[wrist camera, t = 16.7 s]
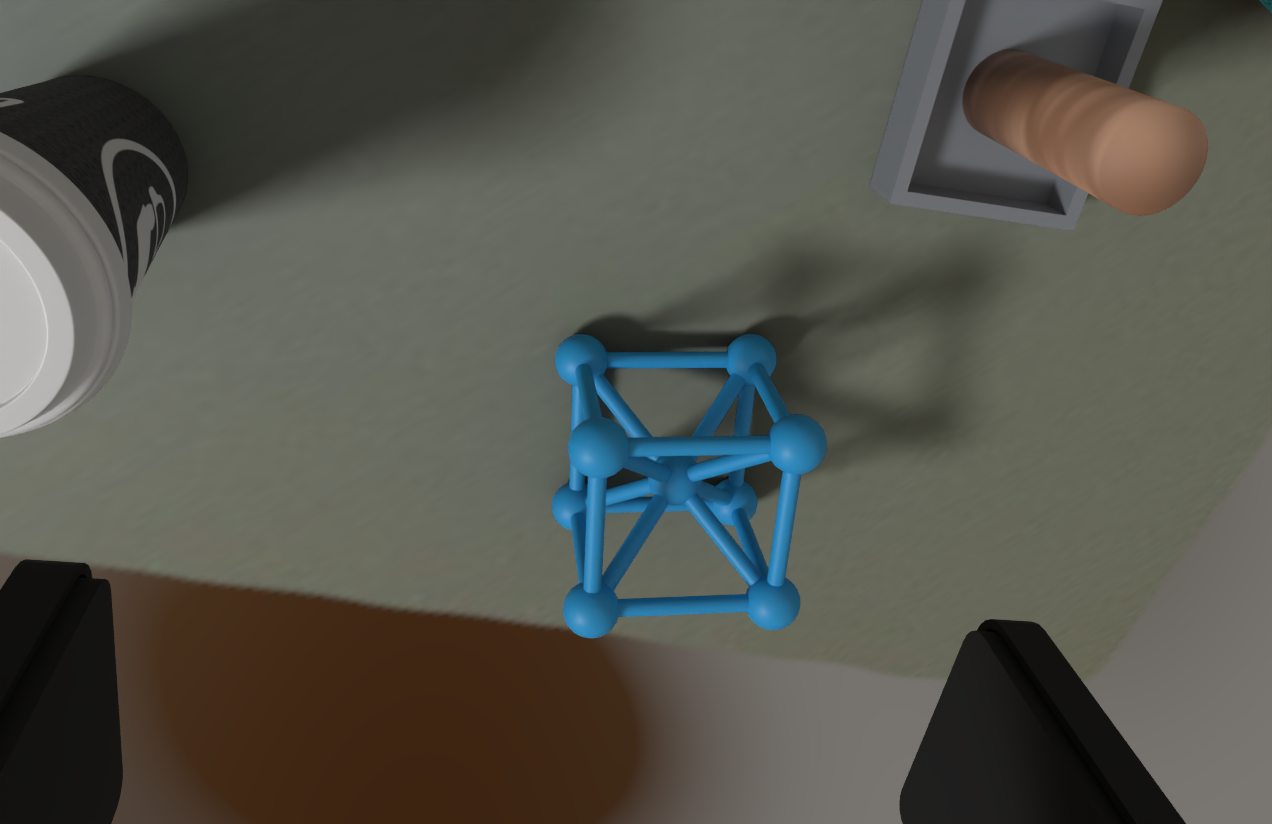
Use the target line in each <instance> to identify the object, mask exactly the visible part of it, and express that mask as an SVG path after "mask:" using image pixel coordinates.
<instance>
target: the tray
mask: <svg viewBox="0 0 1272 824" xmlns="http://www.w3.org/2000/svg"><path fill="white" fill-rule="evenodd" d="M1162 1H1163V0H923V2H922V5H921V9H920V12H919V16H918V19H917V23H916V26H915V30H914V33H913V37H912V40H911V43H910V47H909V50H908V54H907V57H906V61H905V64H904V68H903V71H902V75H901V78H900V82H899V85H898V89H897V92H896V96H895V99H894V103H893V106H892V110H891V113H890V117H889V120H888V123H887V127H886V130H885V134H884V137H883V141H882V144H881V148H880V151H879V155H878V158H877V162H876V165H875V169H874V172H873V176H872V179H871V183H870V186H869V187H870V188H871V189H873V190H874V191H875V192H876V193H877V194H879V195H880V196H881V197H882V198H883V199H884V200H886V201H887V202H888V203H889V204H895V205H901V206H908V207H915V208H922V209H928V210H935V211H942V212H949V213H955V214H962V215H969V216H976V217H982V218H989V219H996V220H1003V221H1009V222H1016V223H1023V224H1030V225H1036V226H1043V227H1050V228H1057V229H1063V230H1070V231H1074V229H1075V226H1076V223H1077V221H1078V218H1079V216H1080V213H1081V211H1082V208H1083V205H1084V203H1085V200H1086V198H1087V195H1088V193H1087V192H1085V191H1084V190H1082V189H1080V188H1078V187H1076V186H1075V185H1073V184H1071V183H1069V182H1067V181H1066V180H1064V179H1062V178H1060V177H1058V176H1057V175H1055V174H1053V173H1051V172H1049V171H1048V170H1046V169H1044V168H1042V167H1040V166H1039V165H1037V164H1035V163H1033V162H1031V161H1030V160H1028V159H1026V158H1024V157H1022V156H1021V155H1019V154H1017V153H1015V152H1013V151H1012V150H1010V149H1008V148H1006V147H1004V146H1003V145H1001V144H999V143H997V142H995V141H994V140H992V139H990V138H988V137H986V136H985V135H983V134H981V133H979V132H978V131H976V130H975V129H974V128H972V126H971V125H970V124H969V123H968V121H967V119H966V117H965V115H964V111H963V105H962V98H963V91H964V87H965V84H966V82H967V80H968V78H969V76H970V74H971V73H972V71H973V70H974V69H975V67H976V66H977V65H978V64H979V63H980V62H981V61H982V60H984V59H985V58H986V57H988V56H990V55H991V54H993V53H996V52H998V51H1001V50H1006V49H1016V50H1021V51H1024V52H1027V53H1030V54H1033V55H1036V56H1038V57H1041V58H1044V59H1047V60H1050V61H1052V62H1055V63H1058V64H1061V65H1064V66H1066V67H1069V68H1072V69H1075V70H1078V71H1080V72H1083V73H1086V74H1089V75H1092V76H1094V77H1097V78H1100V79H1103V80H1106V81H1109V82H1111V83H1114V84H1117V85H1120V86H1123V87H1125V88H1128V89H1129V87H1130V84H1131V81H1132V79H1133V76H1134V74H1135V71H1136V68H1137V66H1138V63H1139V61H1140V58H1141V56H1142V53H1143V50H1144V48H1145V45H1146V43H1147V40H1148V37H1149V35H1150V32H1151V30H1152V27H1153V25H1154V22H1155V19H1156V17H1157V14H1158V12H1159V9H1160V6H1161V4H1162Z"/></svg>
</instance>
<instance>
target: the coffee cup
mask: <svg viewBox="0 0 1272 824" xmlns="http://www.w3.org/2000/svg"><path fill="white" fill-rule="evenodd" d="M187 181H188V171H187V163H186V158H185V154H184V151H183V148H182V145H181V143H180V140H179V138H178V136H177V134H176V133H175V131H174V129H173V128H172V126H171V125H170V123H169V122H168V121H167V119H166V118H165V117H164V116H163V115H162V114H161V112H160V111H159V110H158V109H157V108H156V107H154V106H153V105H152V104H151V103H150V102H149V101H147V100H146V99H145V98H143V97H142V96H141V95H139V94H138V93H136V92H134V91H132V90H131V89H129V88H127V87H125V86H123V85H120V84H118V83H115V82H112V81H109V80H106V79H102V78H97V77H90V76H68V77H62V78H57V79H53V80H49V81H45V82H41V83H37V84H34V85H30V86H26V87H22V88H18V89H14V90H10V91H7V92H3V93H0V438H2V437H7V436H12V435H16V434H20V433H24V432H28V431H31V430H34V429H37V428H40V427H43V426H45V425H48V424H50V423H52V422H54V421H56V420H58V419H60V418H62V417H64V416H66V415H68V414H69V413H71V412H73V411H75V410H76V409H78V408H79V407H81V406H82V405H84V404H85V403H86V402H88V401H89V400H90V399H91V398H92V397H93V396H95V395H96V394H97V393H98V392H99V391H100V390H101V389H102V388H103V386H104V385H105V384H106V383H107V382H108V380H109V379H110V378H111V376H112V375H113V373H114V372H115V370H116V368H117V367H118V365H119V363H120V361H121V359H122V356H123V354H124V351H125V349H126V346H127V342H128V338H129V334H130V329H131V320H132V299H133V297H134V295H135V293H136V291H137V290H138V288H139V286H140V284H141V282H142V280H143V278H144V276H145V274H146V272H147V270H148V268H149V266H150V264H151V262H152V261H153V259H154V257H155V255H156V253H157V251H158V249H159V247H160V245H161V243H162V241H163V239H164V238H165V236H166V234H167V232H168V230H169V228H170V226H171V224H172V222H173V220H174V218H175V217H176V215H177V213H178V211H179V209H180V207H181V205H182V202H183V200H184V197H185V193H186V189H187Z"/></svg>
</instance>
